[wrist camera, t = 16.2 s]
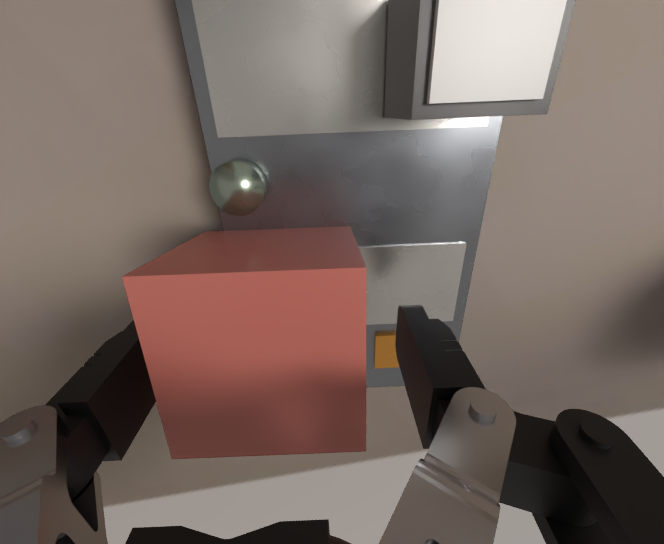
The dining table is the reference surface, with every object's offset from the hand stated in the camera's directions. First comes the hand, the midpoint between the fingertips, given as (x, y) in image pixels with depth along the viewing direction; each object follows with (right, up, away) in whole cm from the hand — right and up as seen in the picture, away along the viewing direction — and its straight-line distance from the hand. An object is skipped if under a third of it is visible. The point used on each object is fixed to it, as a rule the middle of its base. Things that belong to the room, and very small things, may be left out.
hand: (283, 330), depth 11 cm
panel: (+2, +5, +3) cm, 7 cm away
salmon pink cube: (0, +1, +2) cm, 2 cm away
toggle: (+5, +8, -2) cm, 10 cm away
